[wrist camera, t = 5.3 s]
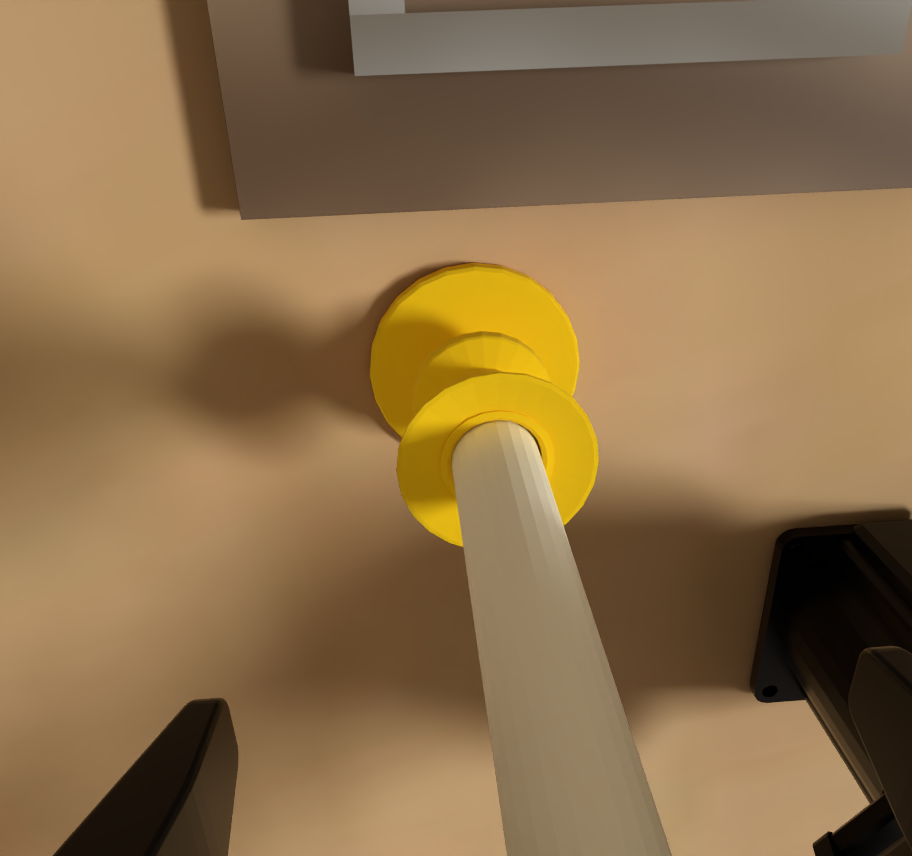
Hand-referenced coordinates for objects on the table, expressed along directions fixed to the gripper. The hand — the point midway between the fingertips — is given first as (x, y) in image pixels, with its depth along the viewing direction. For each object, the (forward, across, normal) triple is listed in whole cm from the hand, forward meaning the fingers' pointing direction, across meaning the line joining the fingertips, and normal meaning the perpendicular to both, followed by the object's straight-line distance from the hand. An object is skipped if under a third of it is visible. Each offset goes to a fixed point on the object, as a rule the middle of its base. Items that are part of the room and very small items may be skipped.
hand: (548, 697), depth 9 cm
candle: (+11, 0, 0) cm, 11 cm away
